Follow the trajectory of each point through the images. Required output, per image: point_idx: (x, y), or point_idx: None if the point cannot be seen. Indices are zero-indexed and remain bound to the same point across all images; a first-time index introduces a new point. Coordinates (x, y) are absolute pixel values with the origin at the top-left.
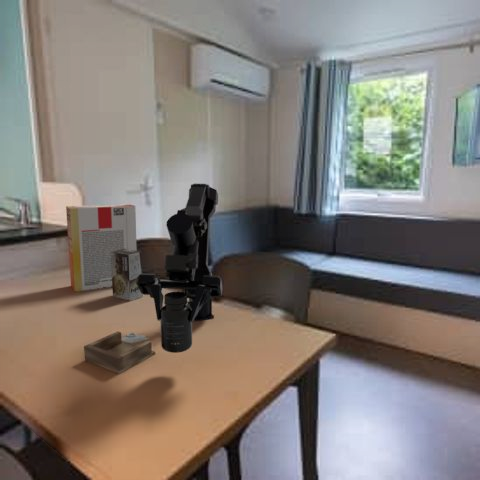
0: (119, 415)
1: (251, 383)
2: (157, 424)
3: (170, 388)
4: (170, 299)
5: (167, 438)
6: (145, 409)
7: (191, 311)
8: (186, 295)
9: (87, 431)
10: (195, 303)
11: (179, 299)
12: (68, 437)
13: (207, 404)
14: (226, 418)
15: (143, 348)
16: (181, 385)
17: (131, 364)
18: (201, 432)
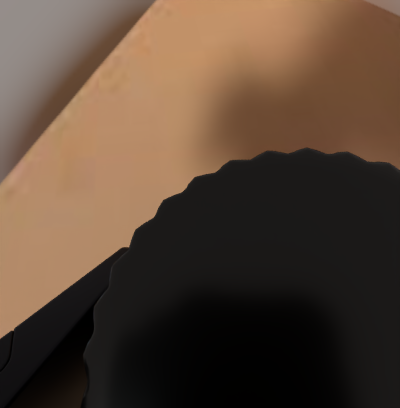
0: (319, 84)
1: (22, 231)
2: (229, 66)
3: None
4: (353, 161)
5: (201, 34)
6: (269, 108)
7: (108, 283)
8: (83, 354)
9: (360, 36)
10: (27, 346)
11: (202, 183)
12: (388, 19)
13: (133, 135)
14: (93, 94)
15: None
16: None
17: None
18: (141, 53)
